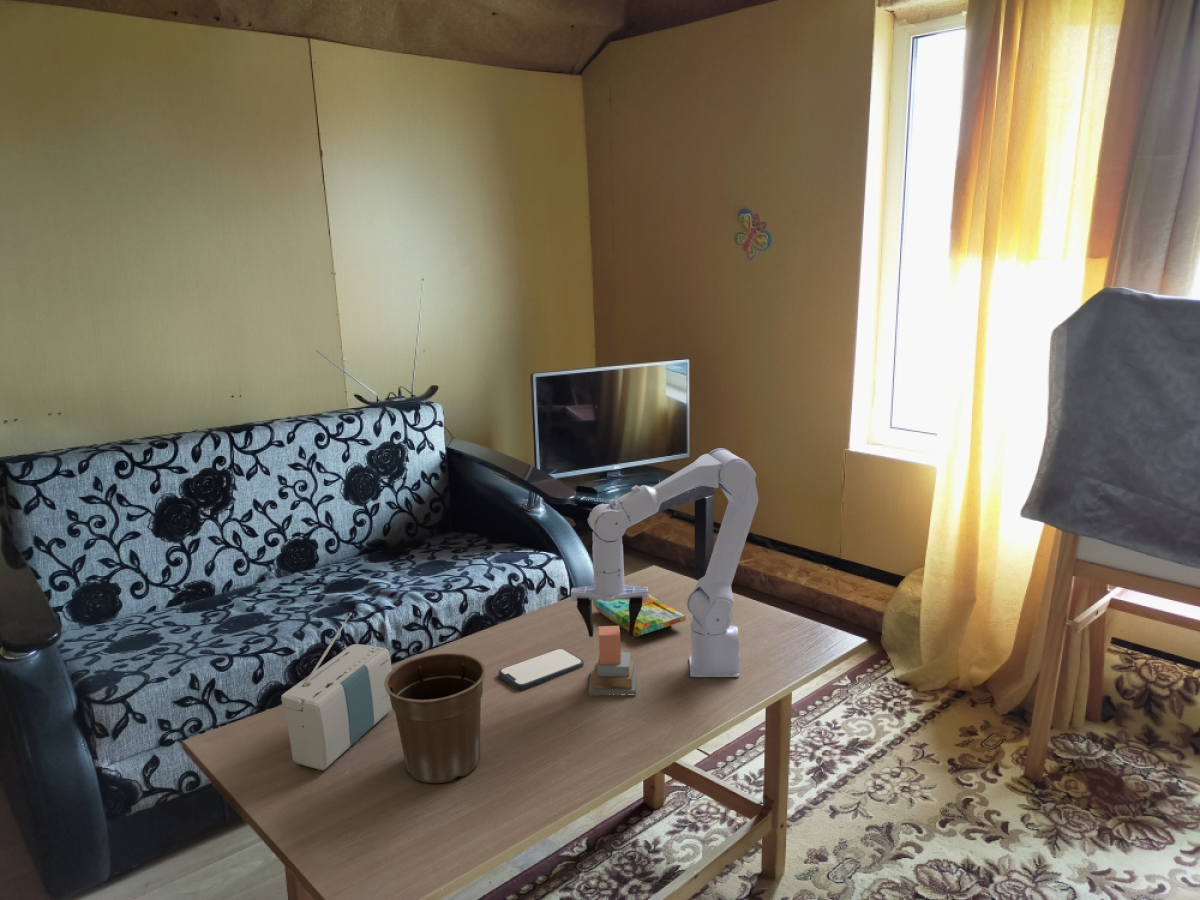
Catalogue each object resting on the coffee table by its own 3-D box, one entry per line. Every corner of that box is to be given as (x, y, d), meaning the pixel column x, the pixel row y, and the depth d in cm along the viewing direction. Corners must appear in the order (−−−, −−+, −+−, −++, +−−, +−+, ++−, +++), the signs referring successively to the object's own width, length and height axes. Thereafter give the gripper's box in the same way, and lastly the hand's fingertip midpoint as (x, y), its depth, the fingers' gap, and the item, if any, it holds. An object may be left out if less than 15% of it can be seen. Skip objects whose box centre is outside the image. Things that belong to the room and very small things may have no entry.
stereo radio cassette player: (326, 776, 139) (312, 665, 134) (286, 768, 141) (270, 659, 137) (398, 711, 158) (387, 612, 153) (361, 705, 160) (349, 607, 156)
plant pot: (408, 735, 149) (399, 652, 146) (498, 734, 149) (492, 650, 145) (382, 793, 134) (371, 701, 130) (483, 792, 133) (475, 699, 129)
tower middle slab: (634, 669, 167) (633, 660, 167) (631, 688, 160) (631, 679, 159) (596, 669, 168) (595, 660, 167) (592, 688, 161) (591, 678, 160)
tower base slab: (637, 676, 168) (637, 667, 168) (635, 699, 160) (635, 690, 159) (592, 676, 169) (592, 667, 169) (588, 699, 160) (588, 690, 160)
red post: (619, 654, 165) (619, 625, 164) (620, 663, 161) (620, 634, 160) (599, 654, 165) (598, 626, 164) (599, 664, 161) (599, 635, 160)
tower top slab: (630, 661, 166) (630, 652, 166) (629, 676, 160) (629, 666, 160) (600, 661, 167) (599, 652, 166) (597, 676, 161) (597, 666, 160)
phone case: (561, 653, 179) (496, 677, 169) (561, 646, 178) (495, 669, 169) (586, 669, 172) (519, 694, 162) (586, 661, 171) (519, 686, 162)
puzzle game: (635, 583, 201) (685, 612, 184) (635, 601, 202) (685, 631, 185) (592, 595, 195) (640, 626, 179) (593, 614, 196) (641, 646, 180)
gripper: (567, 576, 155) (571, 644, 159) (646, 575, 154) (648, 643, 157) (571, 562, 162) (575, 627, 165) (647, 561, 161) (649, 627, 164)
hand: (611, 634), depth 162 cm, fingers open, 7 cm apart
